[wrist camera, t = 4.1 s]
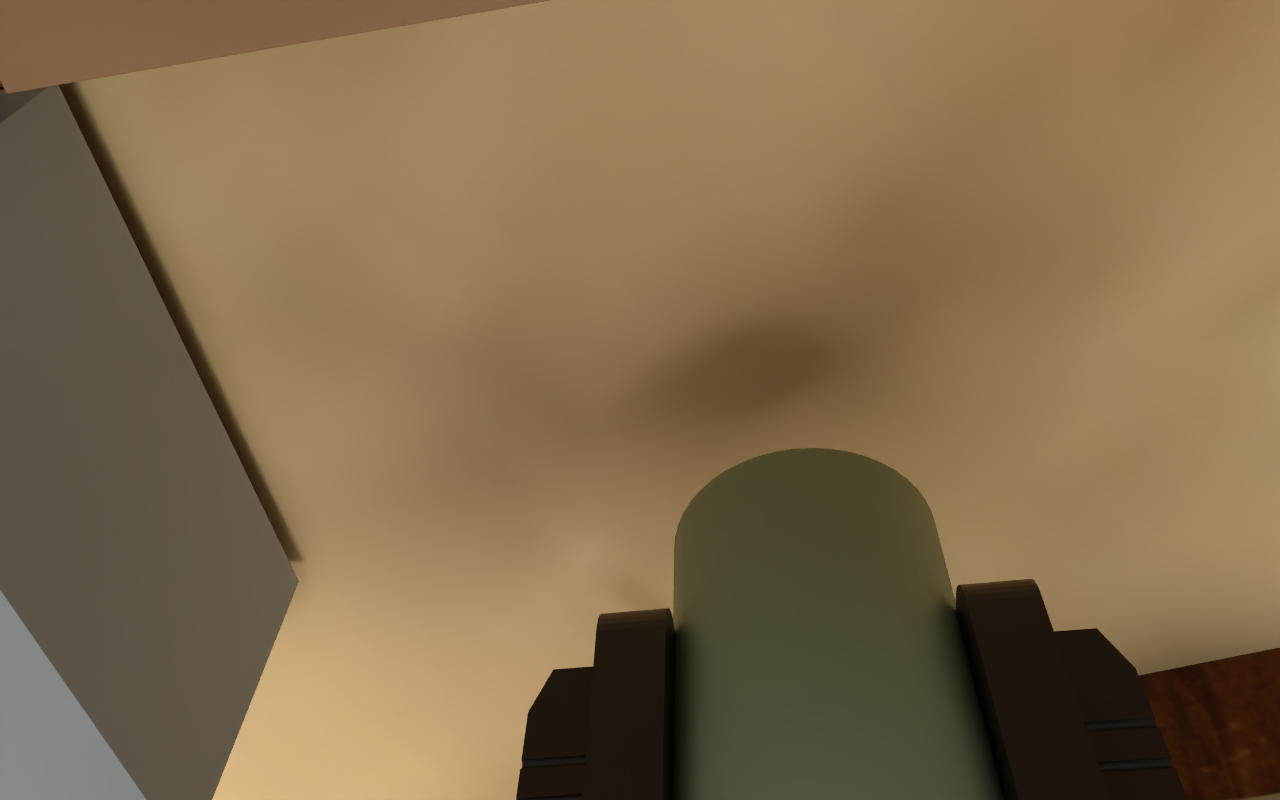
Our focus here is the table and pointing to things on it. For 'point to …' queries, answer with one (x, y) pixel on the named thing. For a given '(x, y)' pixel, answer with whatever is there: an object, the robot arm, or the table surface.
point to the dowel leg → (820, 640)
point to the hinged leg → (112, 503)
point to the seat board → (184, 31)
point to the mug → (1222, 725)
